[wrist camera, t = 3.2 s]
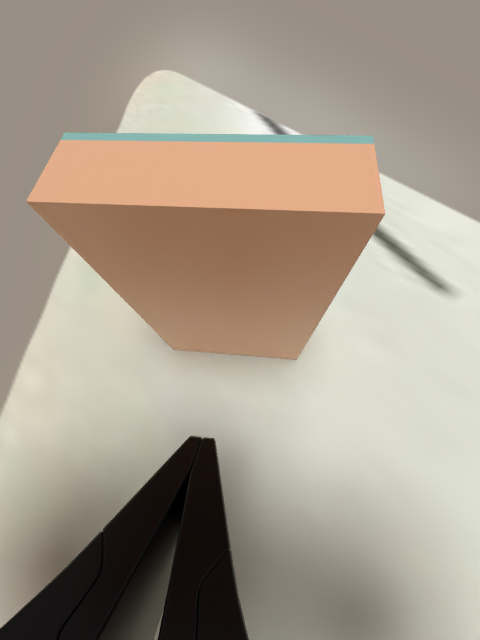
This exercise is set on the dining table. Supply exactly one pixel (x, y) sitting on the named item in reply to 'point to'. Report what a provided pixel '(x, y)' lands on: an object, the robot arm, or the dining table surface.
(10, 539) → the dining table surface
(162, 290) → the glazed tile
